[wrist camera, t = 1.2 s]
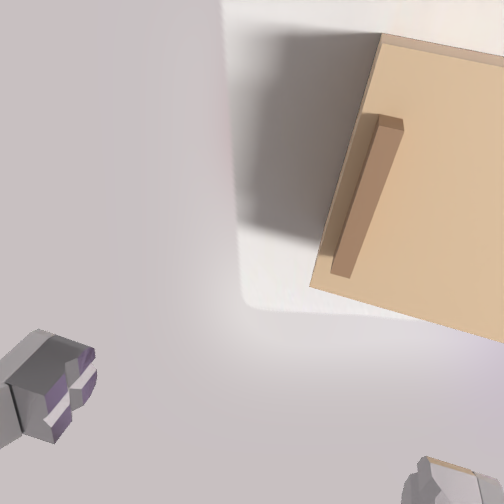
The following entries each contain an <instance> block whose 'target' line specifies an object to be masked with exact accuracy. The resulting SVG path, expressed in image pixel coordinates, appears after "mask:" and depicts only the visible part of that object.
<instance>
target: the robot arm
mask: <svg viewBox="0 0 504 504" xmlns="http://www.w3.org/2000/svg"><path fill="white" fill-rule="evenodd" d="M94 359H95V350H94V348H92V347H89V346H86V345H84V344H81V343H78V342H75V341H72V340H69V339H66V338H64V337H61V336H58V335H56V334H53V333H50V332H46V331H44V330H40V329H37V330H35V331H32V332H31V333H29V334H28V335H27V336H26V337H25V338H24V339H23V340H22V341H21V342H20V343H18V344H17V345H16V346H15V347H14V348H13V349H12V350H11V351H10V352H9V353H8V354H6V355H5V356H4V357H3V358H2V359H1V360H0V449H1V448H3V447H4V446H6V445H8V444H9V443H11V442H13V441H14V440H16V439H18V438H19V437H21V436H22V434H25V435H28V436H31V437H34V438H37V439H40V440H43V441H46V442H49V443H52V444H55V443H56V441H57V440H58V439H59V437H60V436H61V435H62V433H63V432H64V431H65V429H66V428H67V427H68V425H69V424H70V423H71V422H72V411H73V410H75V409H77V408H79V407H81V406H83V405H84V404H85V403H86V401H87V400H88V398H89V397H90V396H91V393H92V391H93V389H94V387H95V385H96V379H97V369H96V368H95V367H94V365H93V364H92V363H91V362H92V361H93V360H94ZM417 467H418V472H417V473H414V474H411V475H410V476H409V477H408V479H407V480H406V482H405V485H404V488H403V493H402V501H401V504H504V492H503V489H502V485H501V484H500V482H499V481H498V480H497V479H495V478H492V477H489V476H486V475H483V474H479V473H476V472H472V471H471V470H469V469H466V468H463V467H459V466H456V465H453V464H450V463H447V462H444V461H440V460H437V459H434V458H430V457H428V456H425V457H422V458H421V459H420V461H419V462H418V463H417Z"/></svg>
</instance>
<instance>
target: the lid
mask: <svg viewBox="0 0 504 504" xmlns="http://www.w3.org/2000/svg"><path fill="white" fill-rule="evenodd" d="M309 287H312V288H315V289H319V290H322V291H326V292H329V293H333V294H336V295H340V296H343V297H346V298H350V299H353V300H357V301H360V302H364V303H367V304H371V305H374V306H377V307H381V308H384V309H388V310H391V311H395V312H398V313H402V314H405V315H408V316H412V317H415V318H419V319H422V320H426V321H429V322H433V323H436V324H440V325H443V326H446V327H450V328H453V329H457V330H460V331H464V332H467V333H470V334H474V335H477V336H481V337H484V338H488V339H491V340H495V341H498V342H501V343H504V66H502V65H497V64H492V63H487V62H482V61H477V60H472V59H467V58H462V57H457V56H452V55H447V54H441V53H436V52H431V51H426V50H421V49H416V48H411V47H406V46H401V45H396V44H391V43H386V42H382V45H381V48H380V51H379V55H378V58H377V61H376V65H375V68H374V71H373V75H372V78H371V81H370V85H369V88H368V91H367V95H366V98H365V101H364V105H363V108H362V111H361V115H360V118H359V121H358V125H357V128H356V131H355V135H354V138H353V141H352V145H351V148H350V151H349V155H348V158H347V161H346V165H345V168H344V171H343V175H342V178H341V181H340V185H339V188H338V191H337V195H336V198H335V201H334V205H333V208H332V211H331V215H330V218H329V221H328V225H327V228H326V231H325V235H324V238H323V241H322V245H321V248H320V251H319V255H318V258H317V261H316V265H315V268H314V271H313V275H312V278H311V282H310V286H309Z"/></svg>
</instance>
